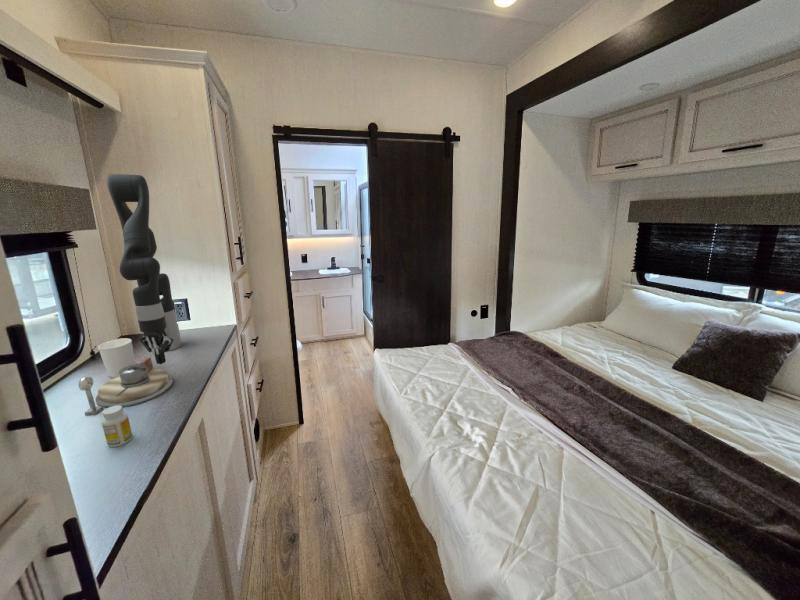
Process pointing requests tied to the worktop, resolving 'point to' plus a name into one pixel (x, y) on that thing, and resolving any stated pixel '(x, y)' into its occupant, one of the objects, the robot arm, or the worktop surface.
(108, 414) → the supplement bottle
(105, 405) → the turntable base
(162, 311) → the robot arm
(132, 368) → the cover
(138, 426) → the worktop surface
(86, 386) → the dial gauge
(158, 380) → the turntable
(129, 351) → the candle holder
